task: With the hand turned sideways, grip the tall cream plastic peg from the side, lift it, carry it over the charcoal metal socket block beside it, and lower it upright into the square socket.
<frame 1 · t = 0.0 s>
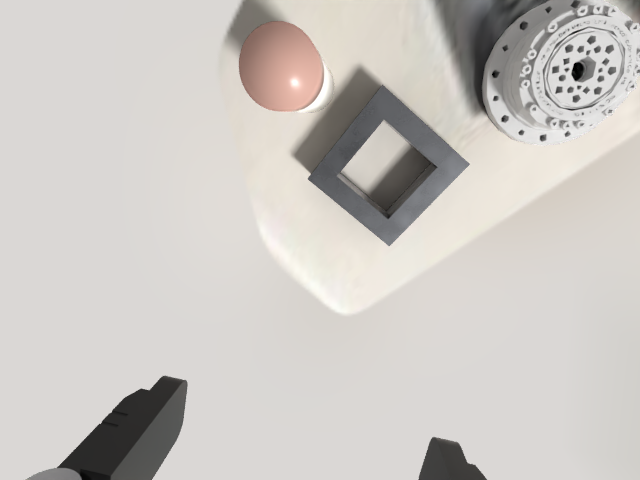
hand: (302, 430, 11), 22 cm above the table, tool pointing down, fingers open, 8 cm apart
socket: (383, 167, 30), on the table
peg: (310, 86, 28), on the table
mechanical component: (547, 77, 27), on the table
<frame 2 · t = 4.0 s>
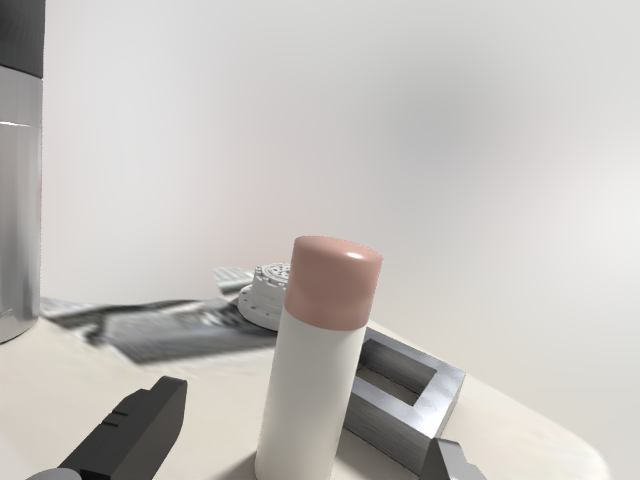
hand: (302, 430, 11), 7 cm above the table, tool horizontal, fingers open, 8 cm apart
socket: (380, 397, 25), on the table
peg: (292, 466, 18), on the table
mechanical component: (284, 313, 36), on the table
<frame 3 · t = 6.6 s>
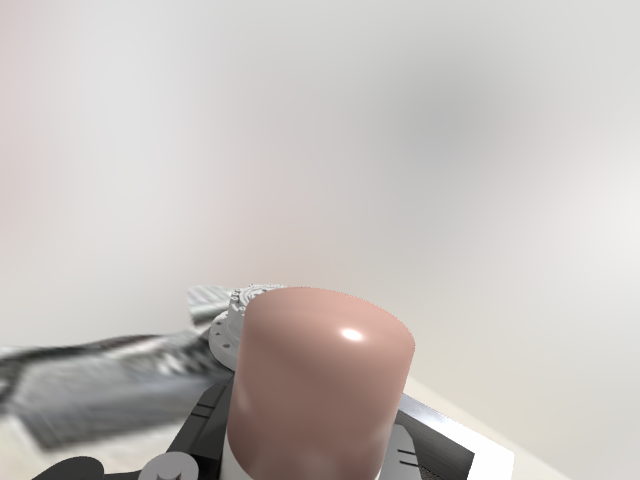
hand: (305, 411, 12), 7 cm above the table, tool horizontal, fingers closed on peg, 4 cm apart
mechanical component: (268, 348, 29), on the table
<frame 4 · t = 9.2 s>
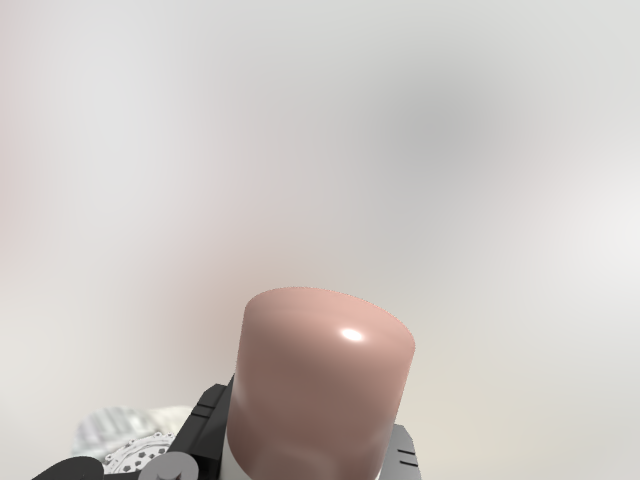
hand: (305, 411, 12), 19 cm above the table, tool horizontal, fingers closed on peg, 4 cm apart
when the fingers open (9 cm above the table, at t = 12.2 s): peg drops 1 cm, resting in socket.
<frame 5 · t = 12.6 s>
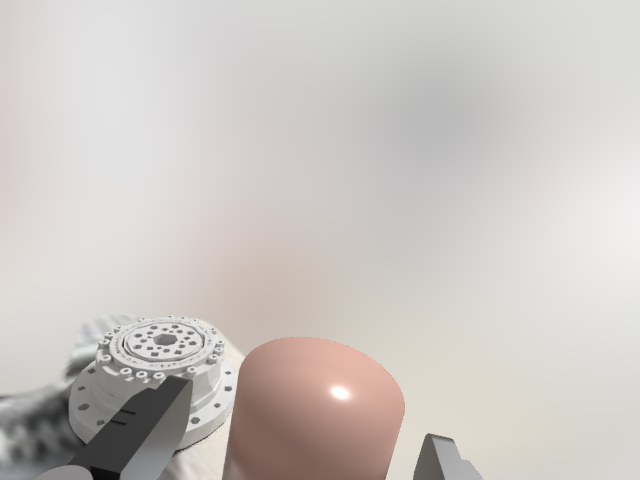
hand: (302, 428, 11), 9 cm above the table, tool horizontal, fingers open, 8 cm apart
mechanical component: (159, 400, 23), on the table
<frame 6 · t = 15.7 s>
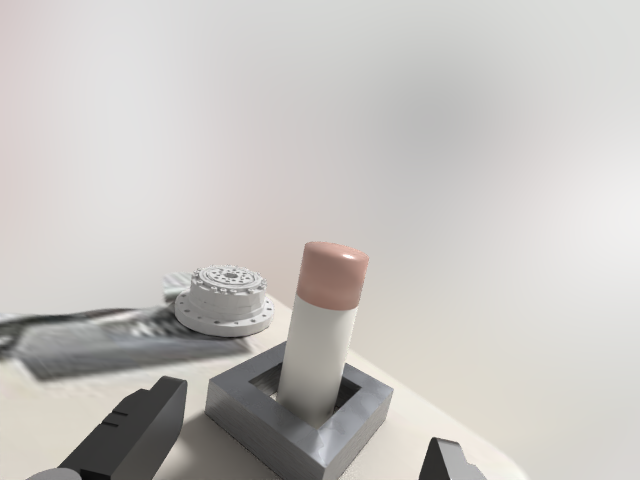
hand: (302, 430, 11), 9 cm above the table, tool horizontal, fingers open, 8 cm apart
socket: (300, 415, 24), on the table
peg: (302, 417, 24), resting in socket
mechanical component: (225, 316, 36), on the table
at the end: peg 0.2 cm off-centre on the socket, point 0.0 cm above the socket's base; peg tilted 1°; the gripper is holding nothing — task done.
